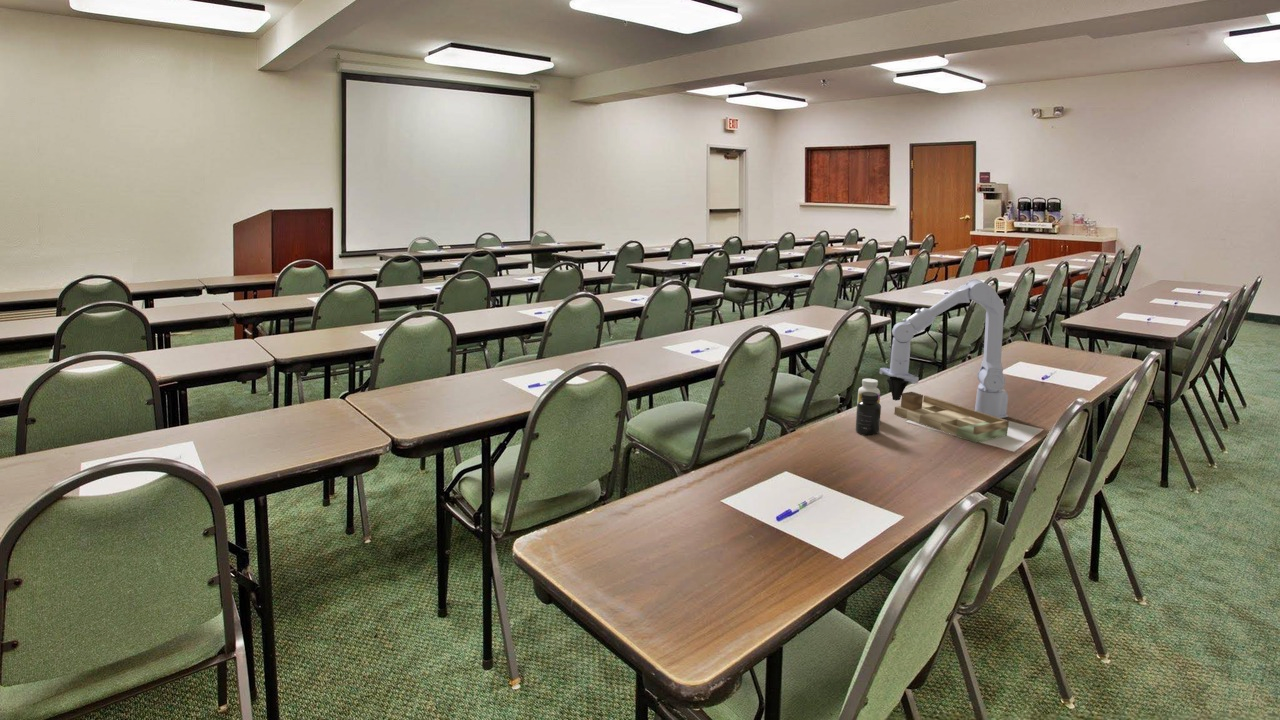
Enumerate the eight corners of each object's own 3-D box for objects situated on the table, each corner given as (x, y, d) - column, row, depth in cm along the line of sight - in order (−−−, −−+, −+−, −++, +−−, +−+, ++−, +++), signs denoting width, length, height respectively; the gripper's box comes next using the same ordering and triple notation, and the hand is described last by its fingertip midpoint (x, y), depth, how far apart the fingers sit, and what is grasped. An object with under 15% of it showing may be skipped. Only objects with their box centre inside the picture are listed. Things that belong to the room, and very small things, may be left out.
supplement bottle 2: (859, 427, 217) (862, 389, 214) (881, 431, 213) (885, 392, 210) (851, 433, 211) (854, 394, 208) (875, 437, 207) (878, 398, 205)
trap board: (924, 408, 236) (925, 395, 235) (1006, 435, 210) (1008, 420, 209) (894, 414, 229) (895, 400, 228) (975, 442, 203) (977, 427, 202)
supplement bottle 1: (879, 423, 220) (882, 383, 217) (856, 422, 221) (860, 382, 218) (876, 417, 226) (879, 378, 223) (855, 415, 228) (858, 377, 225)
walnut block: (910, 404, 231) (911, 391, 230) (921, 408, 227) (923, 395, 226) (900, 406, 229) (901, 393, 228) (911, 410, 225) (913, 396, 224)
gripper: (874, 356, 234) (870, 395, 238) (908, 365, 222) (905, 407, 225) (889, 354, 238) (886, 393, 241) (924, 363, 225) (920, 404, 228)
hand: (896, 399), depth 233 cm, fingers closed
